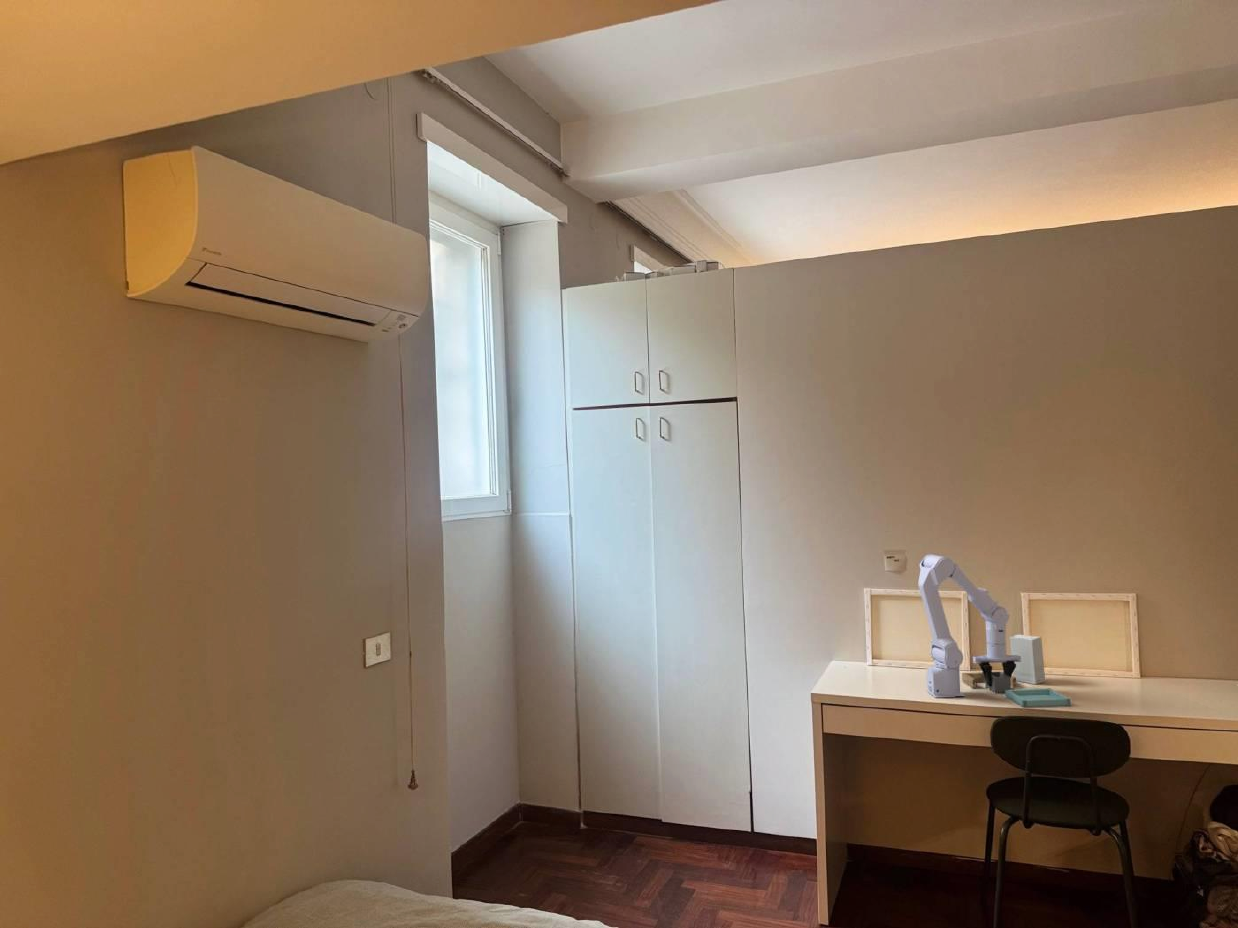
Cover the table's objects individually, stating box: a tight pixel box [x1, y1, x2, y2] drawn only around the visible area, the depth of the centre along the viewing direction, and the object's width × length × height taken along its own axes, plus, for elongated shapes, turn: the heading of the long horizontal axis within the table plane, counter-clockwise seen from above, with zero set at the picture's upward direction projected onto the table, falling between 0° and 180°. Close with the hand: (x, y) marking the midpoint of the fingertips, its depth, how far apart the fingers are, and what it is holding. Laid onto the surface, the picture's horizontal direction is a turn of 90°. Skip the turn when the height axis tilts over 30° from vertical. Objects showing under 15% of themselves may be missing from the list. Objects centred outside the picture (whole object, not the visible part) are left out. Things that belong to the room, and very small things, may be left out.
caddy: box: [984, 671, 1012, 694], centre depth 266 cm, size 5×7×5 cm
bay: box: [961, 671, 1017, 689], centre depth 273 cm, size 14×8×3 cm, turn 89°
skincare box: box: [1009, 633, 1046, 685], centre depth 275 cm, size 8×6×15 cm
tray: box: [1004, 687, 1072, 708], centre depth 253 cm, size 14×12×2 cm
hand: (998, 685), depth 266 cm, fingers closed on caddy, 5 cm apart
